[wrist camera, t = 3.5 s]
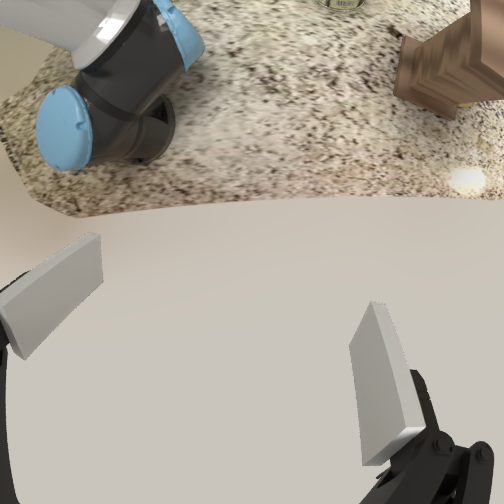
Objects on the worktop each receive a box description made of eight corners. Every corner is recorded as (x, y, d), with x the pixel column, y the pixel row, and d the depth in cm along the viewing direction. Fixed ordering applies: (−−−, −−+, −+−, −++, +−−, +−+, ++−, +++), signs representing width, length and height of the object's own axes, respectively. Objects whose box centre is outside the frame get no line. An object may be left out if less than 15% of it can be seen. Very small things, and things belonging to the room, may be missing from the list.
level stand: (462, 135, 38) (581, 154, 11) (383, 99, 39) (480, 61, 12) (472, 68, 32) (578, 44, 5) (395, 29, 33) (473, -50, 6)
